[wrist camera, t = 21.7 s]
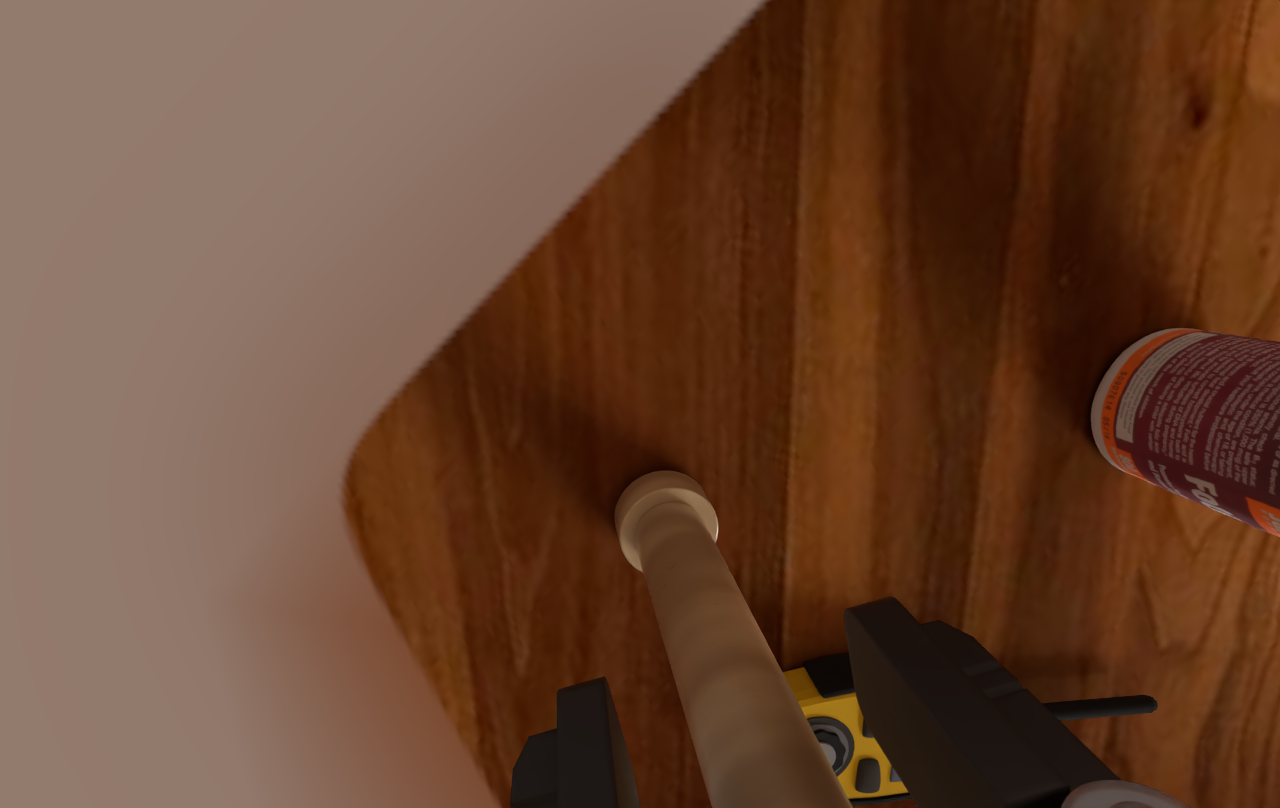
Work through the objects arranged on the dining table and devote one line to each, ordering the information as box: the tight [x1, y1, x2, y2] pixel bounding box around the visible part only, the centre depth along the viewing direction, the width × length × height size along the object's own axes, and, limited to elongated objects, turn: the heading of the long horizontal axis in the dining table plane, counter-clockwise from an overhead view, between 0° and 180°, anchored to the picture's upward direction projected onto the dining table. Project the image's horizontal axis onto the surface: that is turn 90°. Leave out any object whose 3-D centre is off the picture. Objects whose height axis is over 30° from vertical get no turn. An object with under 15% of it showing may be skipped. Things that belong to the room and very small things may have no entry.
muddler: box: [614, 470, 853, 808], centre depth 12 cm, size 3×3×14 cm
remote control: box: [783, 653, 1158, 805], centre depth 21 cm, size 5×2×15 cm
